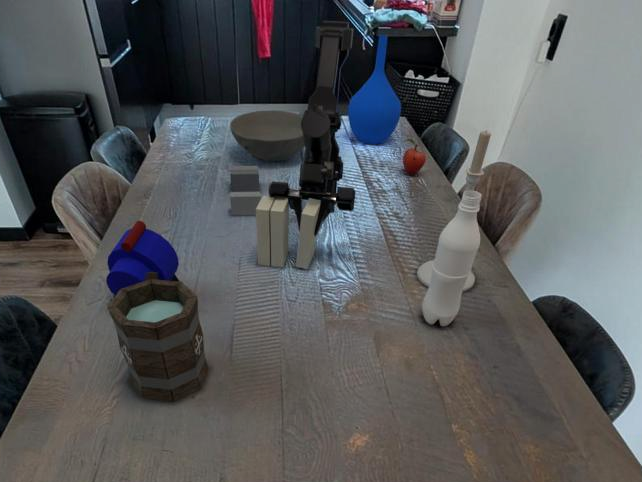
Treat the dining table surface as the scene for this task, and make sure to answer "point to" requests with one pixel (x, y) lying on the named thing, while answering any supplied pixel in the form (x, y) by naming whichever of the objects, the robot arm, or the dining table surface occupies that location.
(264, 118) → the bowl
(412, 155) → the apple
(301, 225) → the cream rectangular block
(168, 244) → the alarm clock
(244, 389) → the dining table surface
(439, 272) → the water bottle
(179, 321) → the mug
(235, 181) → the grey books
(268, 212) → the white books
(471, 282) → the candlestick
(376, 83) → the vase
